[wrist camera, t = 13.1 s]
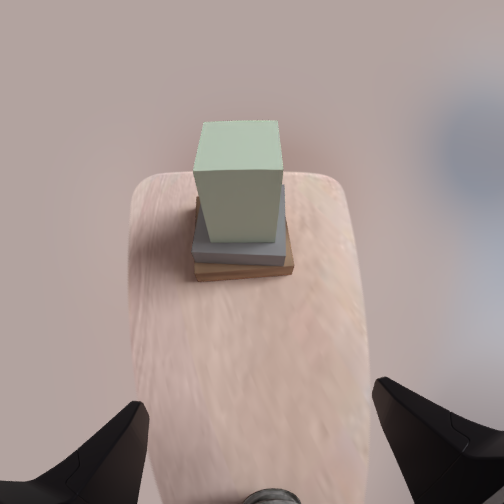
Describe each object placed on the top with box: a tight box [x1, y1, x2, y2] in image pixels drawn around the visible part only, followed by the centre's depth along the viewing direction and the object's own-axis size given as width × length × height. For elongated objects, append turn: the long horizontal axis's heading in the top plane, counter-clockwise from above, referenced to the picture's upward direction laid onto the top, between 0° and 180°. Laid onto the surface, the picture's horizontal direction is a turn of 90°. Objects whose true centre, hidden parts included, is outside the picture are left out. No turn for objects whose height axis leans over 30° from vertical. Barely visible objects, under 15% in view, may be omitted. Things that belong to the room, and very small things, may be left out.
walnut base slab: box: [194, 196, 294, 282], centre depth 28 cm, size 9×9×2 cm
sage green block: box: [193, 120, 283, 243], centre depth 21 cm, size 6×6×8 cm
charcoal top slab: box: [191, 185, 286, 266], centre depth 26 cm, size 8×8×2 cm
